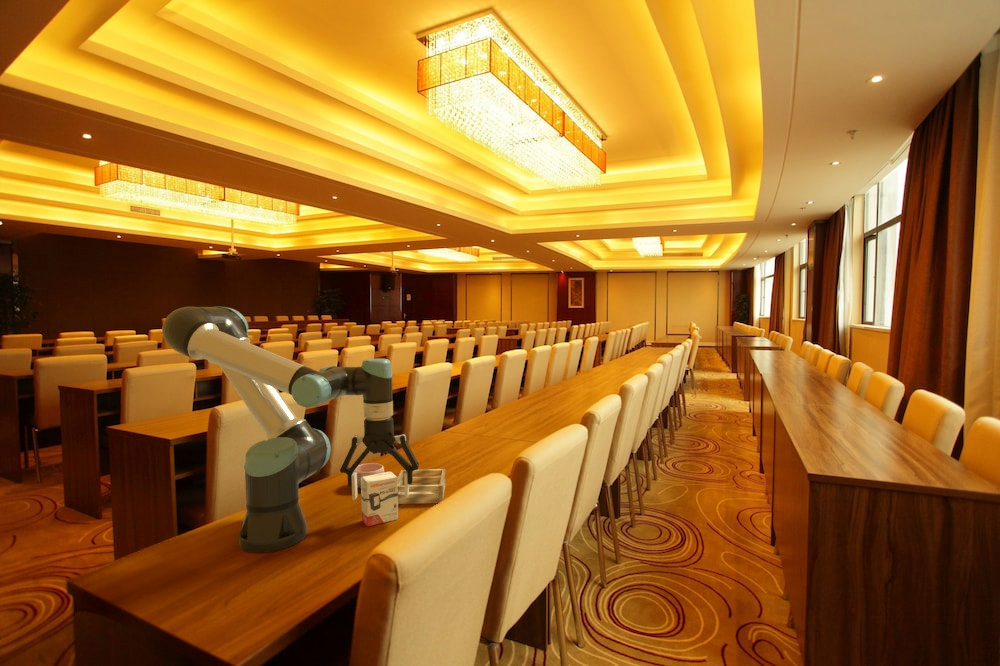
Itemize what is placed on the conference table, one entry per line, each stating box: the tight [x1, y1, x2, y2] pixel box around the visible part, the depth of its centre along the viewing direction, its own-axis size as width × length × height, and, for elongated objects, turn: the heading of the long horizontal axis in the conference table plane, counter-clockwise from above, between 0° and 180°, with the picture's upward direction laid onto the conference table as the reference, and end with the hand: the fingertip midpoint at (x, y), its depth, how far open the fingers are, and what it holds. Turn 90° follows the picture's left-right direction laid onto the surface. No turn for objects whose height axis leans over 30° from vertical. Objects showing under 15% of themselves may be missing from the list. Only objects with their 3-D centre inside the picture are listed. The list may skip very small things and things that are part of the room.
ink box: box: [360, 471, 399, 527], centre depth 131 cm, size 8×5×12 cm, turn 123°
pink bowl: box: [353, 462, 385, 489], centre depth 157 cm, size 12×10×6 cm
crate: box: [397, 468, 447, 505], centre depth 149 cm, size 14×15×5 cm
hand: (381, 497), depth 131 cm, fingers open, 13 cm apart
